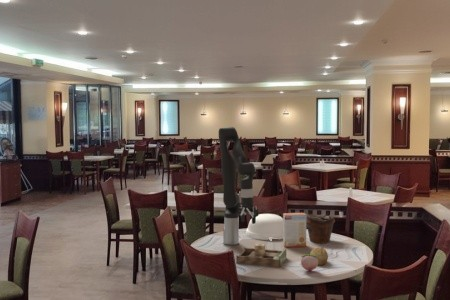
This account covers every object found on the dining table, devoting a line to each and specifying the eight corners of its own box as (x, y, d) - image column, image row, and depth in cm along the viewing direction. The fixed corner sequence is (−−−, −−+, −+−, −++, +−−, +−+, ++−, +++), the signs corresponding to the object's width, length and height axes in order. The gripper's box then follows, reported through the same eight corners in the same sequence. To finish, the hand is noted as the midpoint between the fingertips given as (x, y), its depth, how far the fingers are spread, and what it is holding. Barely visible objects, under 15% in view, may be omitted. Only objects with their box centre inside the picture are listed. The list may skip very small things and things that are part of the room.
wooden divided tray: (236, 262, 280) (236, 252, 279) (244, 254, 297) (244, 244, 297) (280, 267, 272) (280, 256, 272) (286, 258, 290) (286, 247, 289)
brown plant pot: (341, 241, 327) (341, 214, 326) (319, 246, 316) (319, 218, 315) (321, 236, 342) (321, 210, 341) (299, 240, 330) (299, 214, 329)
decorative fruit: (316, 268, 270) (316, 250, 269) (319, 273, 262) (319, 254, 261) (298, 268, 270) (299, 250, 269) (301, 273, 261) (301, 254, 261)
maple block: (254, 254, 287) (254, 245, 286) (256, 251, 292) (256, 243, 291) (263, 254, 285) (263, 246, 285) (265, 252, 290) (265, 244, 290)
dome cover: (299, 235, 345) (299, 215, 344) (270, 243, 324) (270, 221, 323) (264, 227, 368) (264, 208, 367) (235, 234, 347) (235, 214, 346)
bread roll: (323, 258, 290) (323, 244, 289) (330, 266, 275) (331, 251, 274) (307, 258, 289) (307, 245, 288) (313, 266, 274) (313, 252, 274)
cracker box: (304, 244, 320) (304, 212, 318) (306, 247, 314) (306, 214, 312) (282, 244, 318) (282, 212, 317) (284, 247, 312) (284, 214, 311)
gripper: (234, 196, 300) (235, 222, 301) (251, 197, 290) (253, 225, 291) (242, 194, 305) (243, 220, 307) (260, 196, 295) (261, 222, 297)
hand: (248, 222), depth 299 cm, fingers open, 8 cm apart
